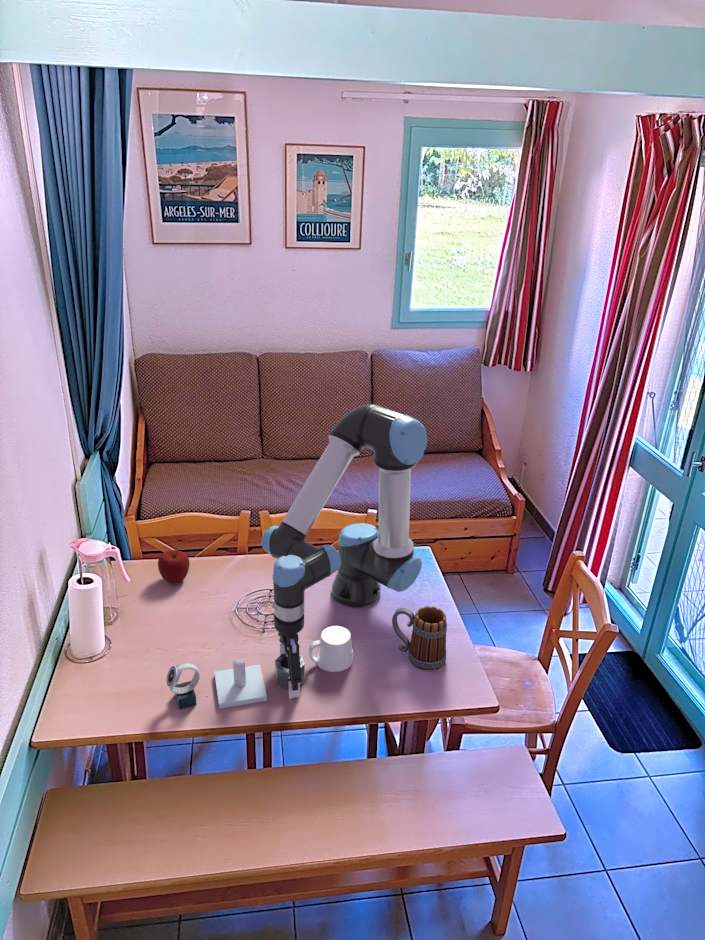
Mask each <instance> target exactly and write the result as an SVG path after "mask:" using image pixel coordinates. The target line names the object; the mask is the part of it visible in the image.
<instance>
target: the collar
mask: <svg viewBox="0 0 705 940" xmlns="http://www.w3.org/2000/svg"><path fill="white" fill-rule="evenodd" d="M300 668H301V679H302V682H301V683H300V687H301V686H302V685H303V684H304V683H305V682H306V681H305V680H306V679H305V662H304V658H303V655H300ZM274 675H275V678H274V679H275V681H276V686H277V688H281V689H283V690H285V691H289V681H288V682H287V679H289V677H290V675H289V667H288V658H287V653H285V654H281V655H280V654H279V656H278V657H277V658H276V659H275V660H274Z"/></svg>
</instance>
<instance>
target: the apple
mask: <svg viewBox="0 0 705 940" xmlns="http://www.w3.org/2000/svg"><path fill="white" fill-rule="evenodd" d="M157 566H158V571H159V574H160V576H161V577H162V579H163V580H164V581H165V582H167V583H168V584H171V585H177V584H179V583H182V582H183V581H184V580H185V579H186V577H187V575H188V574H189V569H190V558H189V556H188V555H187V554H186V552H184V551H181V550H177V549H171V550H167V551H165V552H163V553H162V554H160V556H159V558H158V559H157Z"/></svg>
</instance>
